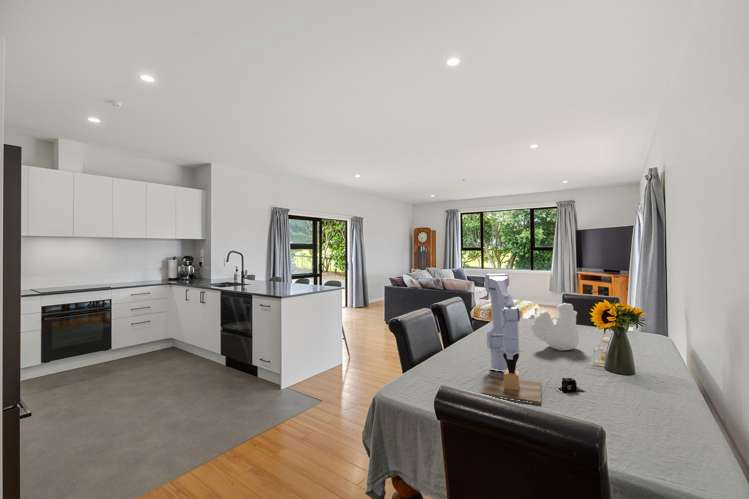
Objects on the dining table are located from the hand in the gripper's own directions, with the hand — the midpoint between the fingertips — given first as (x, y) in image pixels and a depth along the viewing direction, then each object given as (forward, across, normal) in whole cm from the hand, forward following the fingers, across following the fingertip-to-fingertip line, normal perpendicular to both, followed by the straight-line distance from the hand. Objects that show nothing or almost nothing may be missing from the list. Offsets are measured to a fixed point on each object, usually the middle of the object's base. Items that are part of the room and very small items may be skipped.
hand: (511, 372), depth 131 cm
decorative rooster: (+7, -66, +17) cm, 69 cm away
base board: (+7, 0, 0) cm, 7 cm away
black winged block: (+8, -8, +20) cm, 23 cm away
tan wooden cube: (+6, 0, 0) cm, 6 cm away
